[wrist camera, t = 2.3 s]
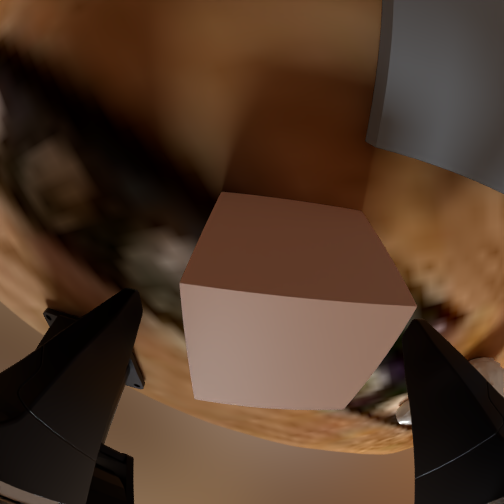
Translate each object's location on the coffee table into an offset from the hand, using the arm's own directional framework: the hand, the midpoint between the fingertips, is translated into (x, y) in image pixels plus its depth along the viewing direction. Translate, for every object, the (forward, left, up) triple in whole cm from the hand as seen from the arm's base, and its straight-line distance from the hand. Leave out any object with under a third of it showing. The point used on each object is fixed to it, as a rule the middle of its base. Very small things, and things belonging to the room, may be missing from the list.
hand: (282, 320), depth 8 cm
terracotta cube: (0, 0, -3) cm, 3 cm away
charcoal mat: (+11, -9, -3) cm, 15 cm away
